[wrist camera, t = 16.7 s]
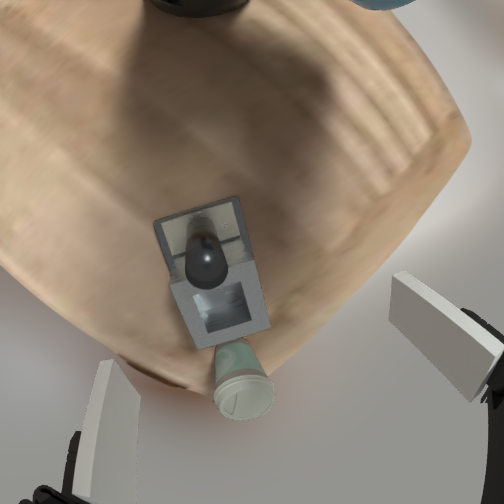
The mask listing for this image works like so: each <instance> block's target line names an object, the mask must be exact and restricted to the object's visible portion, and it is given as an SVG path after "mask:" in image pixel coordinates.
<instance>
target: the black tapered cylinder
mask: <svg viewBox="0 0 504 504" xmlns="http://www.w3.org/2000/svg"><path fill="white" fill-rule="evenodd" d="M185 275H186V278H187V280H188V281H189V282H190V284H192V285H193V286H194V287H196V288H199V289H202V290H210V289H214V288H216V287H218V286H220V285H221V284H222V283H223V282H224V281H225V279H226V277H227V275H228V264H227V261H226V258H225V255H224V252H223V249H222V246H221V243H220V240H219V237H218V234H217V231H216V228H215V225H214V223H213V222H212V221H211V220H210V219H209V218H207V217H196V218H194V219H192V220H191V221H190V222H189V224H188V226H187V231H186V251H185Z"/></svg>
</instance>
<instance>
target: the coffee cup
mask: <svg viewBox="0 0 504 504" xmlns="http://www.w3.org/2000/svg"><path fill="white" fill-rule="evenodd" d="M213 399H214V402H215V405H216V407H217V408H218V409H219V410H220V412H221V414H222V415H223V416H225V417H227V418H229V419H232V420H250V419H254V418H257V417H259V416H261V415H263V414H265V413H266V412H268V411H269V410H270V409H271V408H272V406H273V405H274V402H275V386H274V384H273V382H272V381H271V380H269V379H268V377H267V375H266V373H265V372H264V370H263V368H262V366H261V364H260V363H259V361H258V359H257V357H256V355H255V354H254V352H253V350H252V348H251V346H250V344H249V343H248V342H247V341H246V340H245V339H243V338H237V339H234V340H231V341H227V342H224V343H220V344H218V345H217V347H216V350H215V393H214V396H213Z"/></svg>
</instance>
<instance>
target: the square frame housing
mask: <svg viewBox="0 0 504 504" xmlns="http://www.w3.org/2000/svg"><path fill="white" fill-rule="evenodd" d="M196 217H207V218H209V219H210V220H211V221H212V222H213V223H214V225H215V228H216V231H217V234H218V237H219V240H220V243H221V246H222V249H223V252H224V255H225V258H226V261H227V264H228V275H227V277H226V279H225V281H224V282H223V283H222V284H221V285H220V286H218V287H216V288H214V289H210V290H202V289H199V288H196V287H194V286H193V285H192V284H190V282H189V281H188V280H187V278H186V275H185V251H186V231H187V226H188V224H189V222H190V221H191V220H192V219H194V218H196ZM153 224H154V227H155V230H156V233H157V236H158V239H159V241H160V244H161V247H162V250H163V252H164V255H165V258H166V261H167V263H168V266H169V268H170V271H171V275H170V283H169V286H170V289H171V291H172V294H173V296H174V298H175V301H176V303H177V305H178V308H179V310H180V312H181V314H182V317H183V319H184V321H185V323H186V325H187V328H188V330H189V332H190V334H191V336H192V338H193V341H194V343H195V345H196V347H197V349H198V350H199V349H203V348H206V347H210V346H213V345H217V344H220V343H224V342H227V341H231V340H234V339H237V338H241V337H244V336H247V335H250V334H253V333H256V332H260V331H263V330H266V329H269V328H271V324H270V320H269V316H268V312H267V308H266V304H265V300H264V296H263V292H262V288H261V285H260V281H259V277H258V273H257V269H256V265H255V261H254V257H253V253H252V249H251V245H250V241H249V237H248V233H247V229H246V225H245V221H244V217H243V213H242V209H241V205H240V201H239V197H238V196H234V197H230V198H226V199H223V200H219V201H216V202H213V203H209V204H206V205H202V206H199V207H196V208H192V209H189V210H186V211H183V212H180V213H176V214H173V215H170V216H167V217H164V218H161V219H158V220H155V221H154V222H153Z"/></svg>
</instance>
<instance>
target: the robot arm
mask: <svg viewBox="0 0 504 504" xmlns="http://www.w3.org/2000/svg"><path fill="white" fill-rule="evenodd" d="M151 1H152V2H153V3H154V4H155V5H156V6H157V7H158V8H160V9H161V10H163V11H165V12H168V13H170V14H174V15H178V16H184V17H209V16H215V15H219V14H223V13H226V12H229V11H231V10H234V9H236V8H238V7H239V6H241V5H242V4H244V3H245V2H246V1H247V0H151ZM350 1H352V2H354V3H355V4H357V5H359V6H361V7H363V8H365V9H369V10H383V11H384V10H391V9H395V8H398V7H401V6H404V5H406V4H409V3H411V2H413V1H415V0H350ZM389 321H390V322H391V323H392V324H393V325H394V326H395V327H396V328H397V329H398V330H399V331H401V333H402V334H403V335H404V336H405V337H406V338H407V339H409V340H410V341H411V342H412V343H413V344H414V345H415V346H416V347H417V348H418V349H419V350H420V351H421V352H422V353H423V354H424V355H425V356H426V357H427V358H428V359H429V360H430V361H431V362H432V363H433V365H434V366H436V368H437V369H438V370H439V371H440V372H441V373H442V374H443V375H444V376H445V377H446V378H447V379H448V380H449V381H450V382H451V383H452V384H453V385H454V386H455V387H456V388H457V390H458V391H459V392H460V393H461V394H462V395H463V396H464V397H465V398H466V399H467V400H468V402H471V401H472V400H473V399H474V398H475V397H476V396H478V395H479V393H481V391H482V389H483V388H484V386H485V384H487V385H488V386H489V387H488V388H487V390H486V392H485V393H484V395H483V396H482V398H481V403H483V401H484V400H485V399H486V397H487V399H486V402H485V403H488V454H487V466H486V475H485V482H484V489H483V495H482V500H481V504H504V336H503V335H502V334H501V333H500V332H499V331H497V330H496V329H495V328H494V327H492V326H491V325H490V324H487V322H486V321H485V320H483V319H481V318H480V317H479V316H478V315H477V314H475V313H474V312H472V311H470V310H467V309H464V308H462V309H458V308H457V307H455V306H454V305H453V304H451V303H450V302H448V301H447V300H446V299H444V298H443V297H442V296H440V295H439V294H438V293H436V292H435V291H433V290H432V289H430V288H429V287H428V286H426V285H425V284H423V283H422V282H420V281H419V280H417V279H416V278H414V277H413V276H412V275H410V274H409V273H407V272H406V271H404V270H403V271H401V272H398V273H396V274H394V275H392V287H391V301H390V311H389ZM140 403H141V396H140V395H139V394H138V392H137V391H136V390H135V388H134V387H133V386H132V384H131V383H130V381H129V380H128V379H127V377H126V376H125V375H124V373H123V372H122V370H121V369H120V367H119V366H118V364H117V363H116V362H115V360H114V359H109V360H104V361H100V363H99V366H98V369H97V373H96V376H95V380H94V383H93V387H92V390H91V394H90V398H89V402H88V406H87V410H86V414H85V419H84V423H83V427H82V431H76V432H75V434H74V435H73V437H72V439H71V440H70V445H69V450H68V452H69V454H68V455H67V462H66V466H65V472H64V479H63V486H62V492H61V493H59V492H58V491H56V490H54V489H53V488H51V487H49V486H47V485H41V486H39V487H38V488H37V489H36V490H35V491H34V494H33V502H31V501H30V500H28V499H23V500H21V501H20V503H19V504H137V445H138V429H139V414H140Z"/></svg>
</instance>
